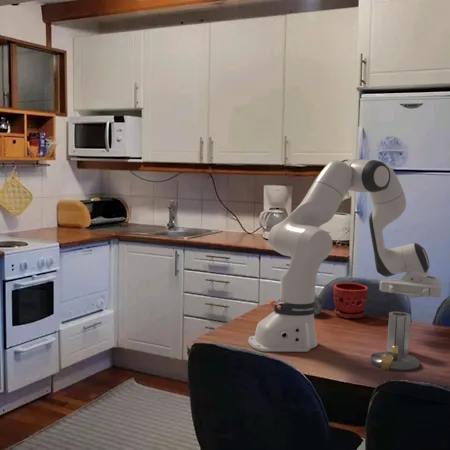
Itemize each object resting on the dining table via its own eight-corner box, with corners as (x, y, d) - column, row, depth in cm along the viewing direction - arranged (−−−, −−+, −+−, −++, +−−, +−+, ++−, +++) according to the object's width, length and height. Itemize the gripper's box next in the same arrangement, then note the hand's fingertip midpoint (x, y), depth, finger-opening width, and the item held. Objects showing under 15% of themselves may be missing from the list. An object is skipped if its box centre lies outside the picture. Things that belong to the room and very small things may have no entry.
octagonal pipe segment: (388, 353, 185) (390, 316, 184) (386, 347, 191) (388, 311, 190) (409, 355, 184) (411, 317, 183) (407, 349, 190) (409, 312, 189)
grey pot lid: (385, 372, 168) (386, 354, 167) (361, 357, 181) (362, 340, 181) (429, 369, 171) (430, 352, 171) (402, 354, 185) (403, 338, 184)
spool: (330, 308, 229) (317, 285, 230) (309, 320, 227) (297, 297, 228) (319, 308, 242) (307, 286, 243) (299, 319, 240) (288, 298, 241)
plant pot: (325, 313, 234) (326, 283, 233) (352, 310, 240) (354, 281, 239) (345, 321, 222) (347, 290, 221) (373, 318, 228) (375, 288, 227)
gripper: (383, 273, 213) (375, 279, 201) (443, 278, 205) (439, 285, 192) (382, 290, 214) (374, 297, 202) (442, 296, 205) (438, 304, 193)
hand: (406, 292), depth 197 cm, fingers open, 8 cm apart
